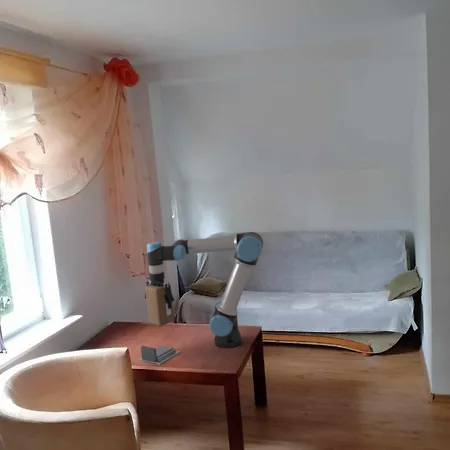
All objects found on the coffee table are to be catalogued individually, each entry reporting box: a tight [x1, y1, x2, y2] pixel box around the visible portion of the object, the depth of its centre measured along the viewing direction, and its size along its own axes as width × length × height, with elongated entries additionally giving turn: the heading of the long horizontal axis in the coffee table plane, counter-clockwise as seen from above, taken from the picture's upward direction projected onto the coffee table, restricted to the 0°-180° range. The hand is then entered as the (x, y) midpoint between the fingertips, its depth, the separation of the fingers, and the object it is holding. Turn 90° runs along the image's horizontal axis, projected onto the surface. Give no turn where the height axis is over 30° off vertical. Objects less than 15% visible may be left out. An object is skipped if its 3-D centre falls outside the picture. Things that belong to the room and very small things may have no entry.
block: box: [145, 284, 175, 327], centre depth 282 cm, size 10×10×20 cm
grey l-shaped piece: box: [138, 345, 181, 365], centre depth 283 cm, size 14×17×8 cm
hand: (160, 313), depth 283 cm, fingers closed on block, 11 cm apart
